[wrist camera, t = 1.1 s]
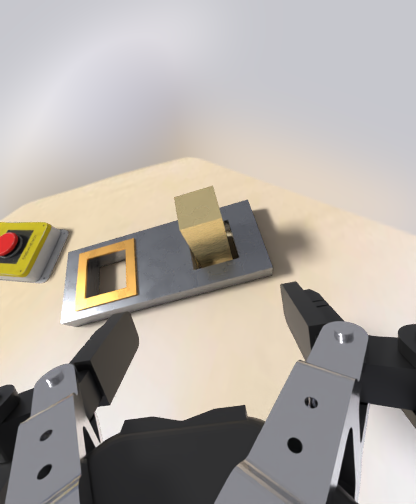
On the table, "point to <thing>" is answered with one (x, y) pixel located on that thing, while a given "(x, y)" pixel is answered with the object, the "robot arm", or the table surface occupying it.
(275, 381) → the table surface
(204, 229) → the brass peg
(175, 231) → the peg board
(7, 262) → the emergency button
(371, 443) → the table surface
